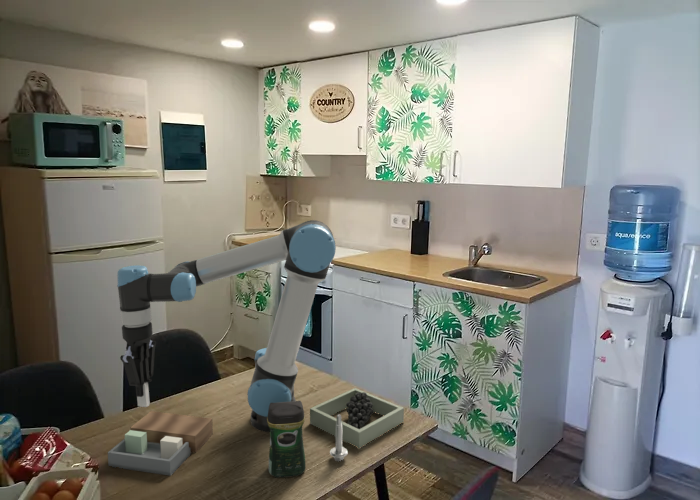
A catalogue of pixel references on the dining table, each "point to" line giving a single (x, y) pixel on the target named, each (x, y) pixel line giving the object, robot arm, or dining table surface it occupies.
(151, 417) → the walnut riser
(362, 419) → the fruit
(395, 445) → the dining table surface
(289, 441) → the coffee jar
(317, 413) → the fruit crate
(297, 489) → the dining table surface
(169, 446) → the cream tile
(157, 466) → the tray
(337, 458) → the screw
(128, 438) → the sage tile
